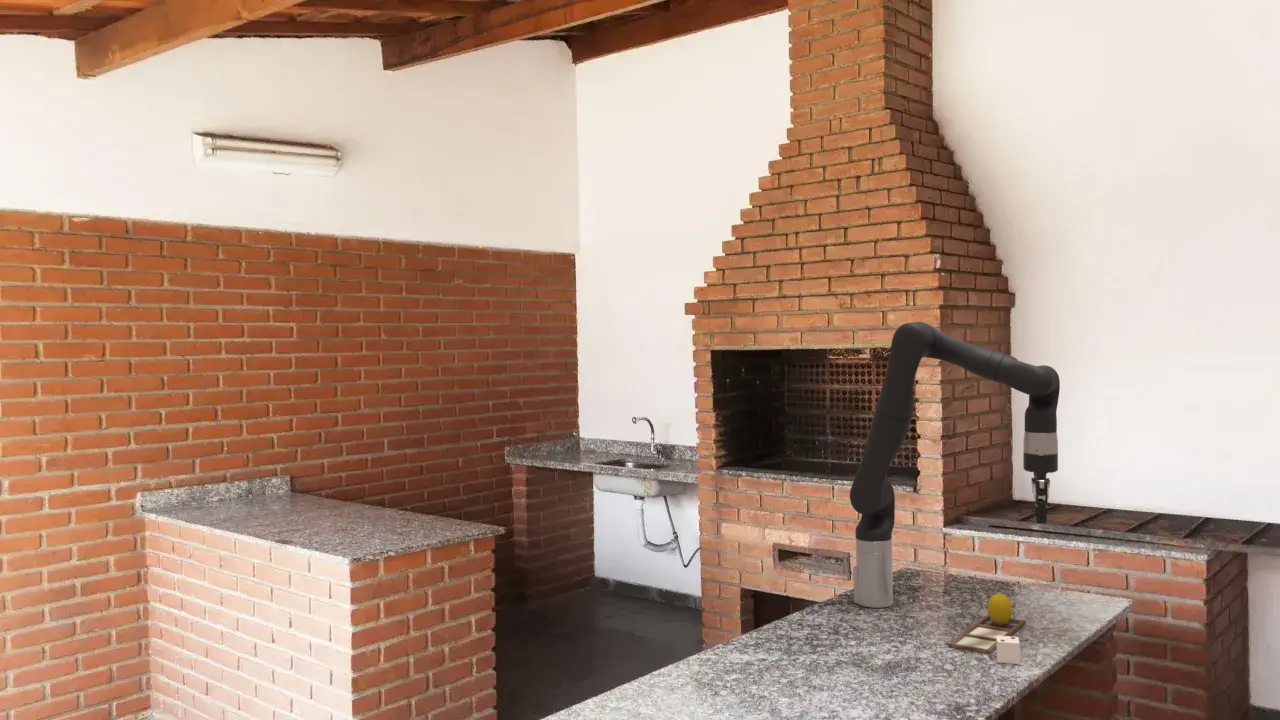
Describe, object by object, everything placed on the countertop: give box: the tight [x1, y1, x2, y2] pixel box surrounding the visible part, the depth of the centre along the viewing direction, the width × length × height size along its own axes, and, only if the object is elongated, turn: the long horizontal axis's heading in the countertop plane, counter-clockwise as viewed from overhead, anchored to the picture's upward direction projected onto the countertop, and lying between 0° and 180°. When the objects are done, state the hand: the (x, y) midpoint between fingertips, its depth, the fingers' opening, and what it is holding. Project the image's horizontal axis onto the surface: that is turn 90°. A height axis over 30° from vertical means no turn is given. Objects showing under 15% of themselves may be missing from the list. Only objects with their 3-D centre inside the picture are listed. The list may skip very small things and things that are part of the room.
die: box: [996, 635, 1021, 665], centre depth 214 cm, size 4×4×5 cm
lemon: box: [987, 592, 1013, 627], centre depth 238 cm, size 6×6×8 cm
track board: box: [948, 614, 1027, 655], centre depth 231 cm, size 9×26×1 cm, turn 142°
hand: (1040, 519), depth 233 cm, fingers open, 8 cm apart
